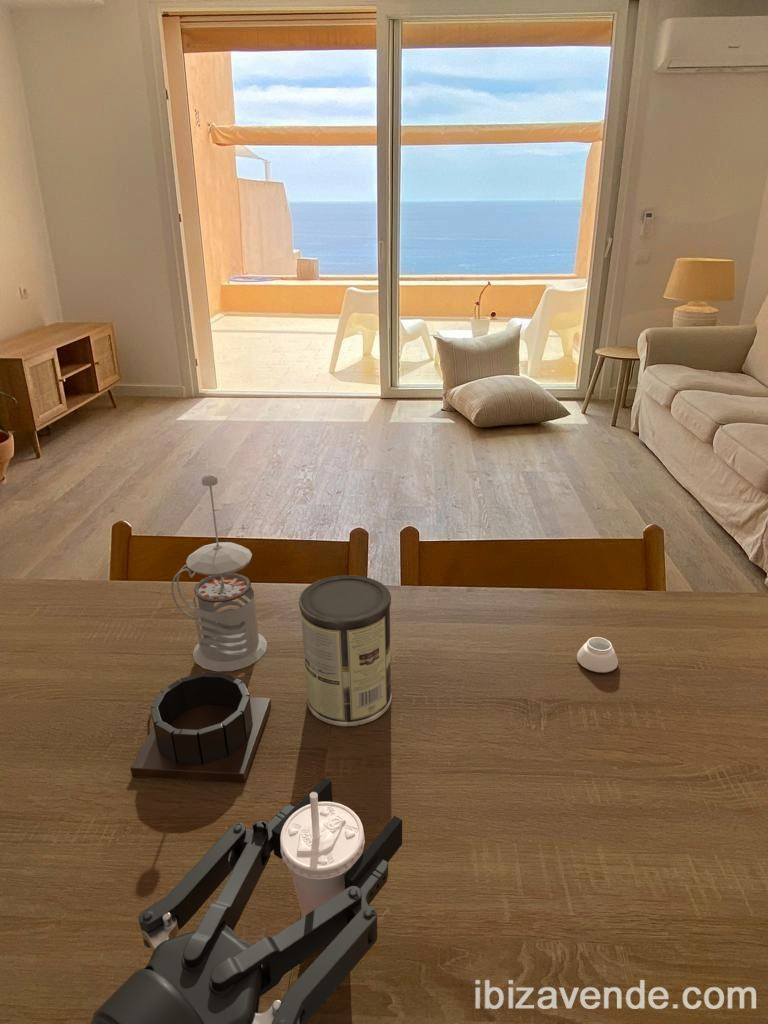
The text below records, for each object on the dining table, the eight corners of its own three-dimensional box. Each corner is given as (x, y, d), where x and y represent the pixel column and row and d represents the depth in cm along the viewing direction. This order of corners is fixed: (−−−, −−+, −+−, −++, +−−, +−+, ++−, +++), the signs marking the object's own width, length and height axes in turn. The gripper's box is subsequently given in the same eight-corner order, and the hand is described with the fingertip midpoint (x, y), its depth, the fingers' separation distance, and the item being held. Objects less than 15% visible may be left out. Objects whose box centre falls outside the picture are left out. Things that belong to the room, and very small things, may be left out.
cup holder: (131, 776, 72) (123, 737, 70) (172, 701, 83) (166, 665, 81) (244, 782, 71) (240, 743, 69) (271, 705, 82) (267, 669, 80)
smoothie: (271, 918, 56) (257, 790, 51) (331, 869, 61) (325, 746, 55) (322, 976, 52) (313, 843, 46) (382, 919, 56) (381, 791, 51)
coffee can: (337, 662, 90) (332, 566, 84) (407, 688, 85) (407, 587, 79) (288, 708, 82) (279, 605, 76) (362, 739, 77) (359, 632, 71)
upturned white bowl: (591, 646, 92) (569, 662, 89) (593, 628, 91) (571, 643, 88) (624, 663, 89) (603, 680, 86) (627, 644, 88) (606, 660, 85)
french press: (253, 674, 88) (233, 491, 77) (167, 667, 89) (136, 486, 79) (276, 631, 96) (261, 462, 86) (197, 625, 98) (173, 458, 88)
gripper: (43, 1014, 46) (278, 792, 64) (252, 1237, 36) (464, 902, 54) (18, 940, 43) (272, 728, 61) (239, 1162, 33) (468, 832, 51)
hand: (362, 810), depth 57 cm, fingers closed on smoothie, 6 cm apart
